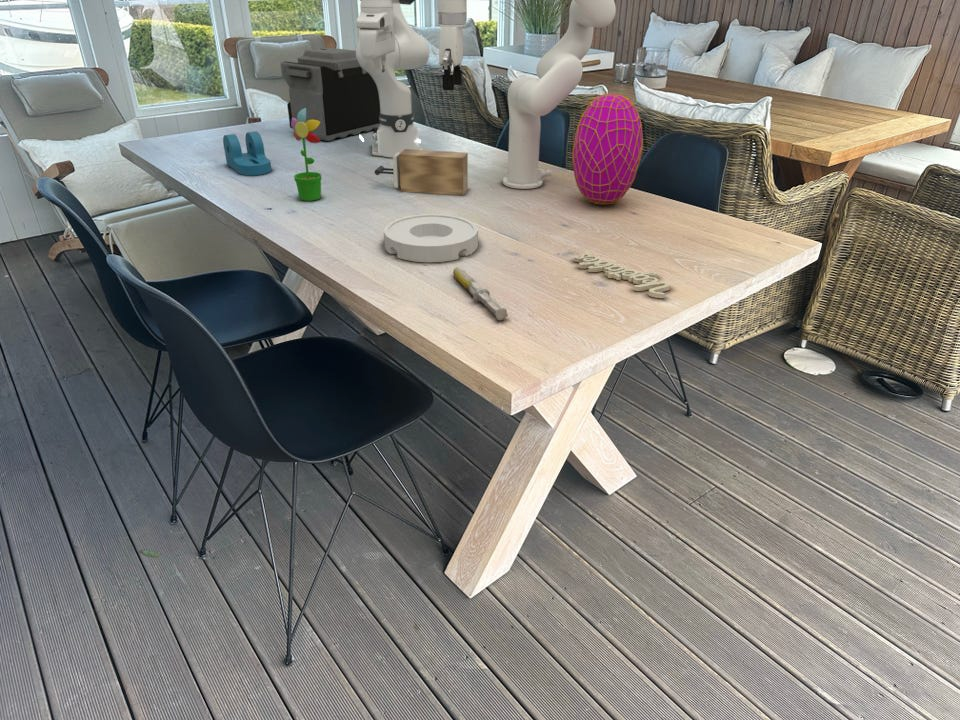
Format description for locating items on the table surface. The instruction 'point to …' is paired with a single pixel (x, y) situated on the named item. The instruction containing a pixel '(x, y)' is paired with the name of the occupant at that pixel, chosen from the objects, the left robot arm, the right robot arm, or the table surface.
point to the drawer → (395, 170)
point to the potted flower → (307, 180)
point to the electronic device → (332, 92)
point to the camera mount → (246, 154)
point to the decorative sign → (625, 274)
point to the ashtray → (431, 237)
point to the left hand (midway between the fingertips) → (380, 72)
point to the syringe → (479, 293)
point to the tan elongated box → (433, 171)
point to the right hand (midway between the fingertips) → (452, 87)
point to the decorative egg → (607, 148)
